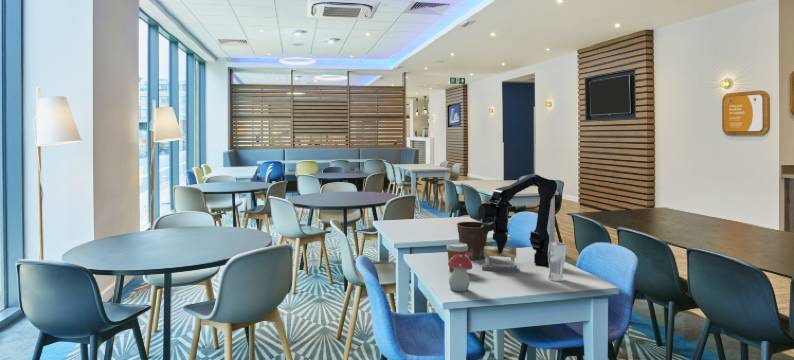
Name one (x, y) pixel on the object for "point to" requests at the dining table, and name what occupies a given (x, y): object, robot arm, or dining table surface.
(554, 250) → the beer glass
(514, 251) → the oak plank
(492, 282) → the dining table surface
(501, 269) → the peg stand
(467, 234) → the plant pot
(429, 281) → the dining table surface
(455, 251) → the lidded amber jar
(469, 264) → the decorative ornament
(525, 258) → the dining table surface
